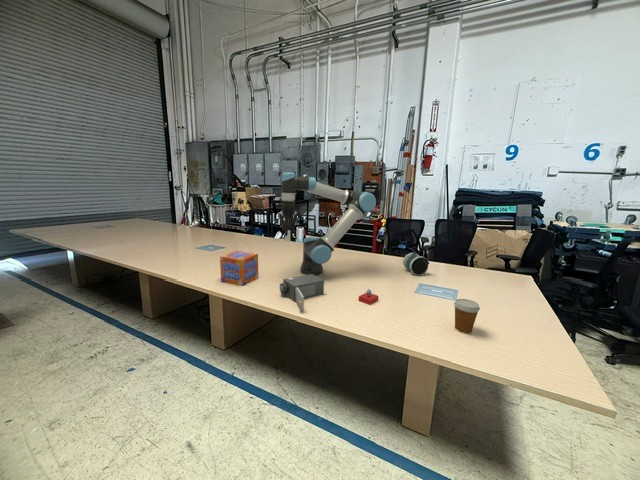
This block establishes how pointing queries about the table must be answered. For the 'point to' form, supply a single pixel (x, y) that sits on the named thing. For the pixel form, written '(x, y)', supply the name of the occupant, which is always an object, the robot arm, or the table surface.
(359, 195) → the robot arm
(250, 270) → the game box
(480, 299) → the table surface
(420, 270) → the gadget
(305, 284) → the camera body
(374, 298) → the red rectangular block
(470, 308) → the disposable coffee cup
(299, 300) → the side door
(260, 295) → the table surface
